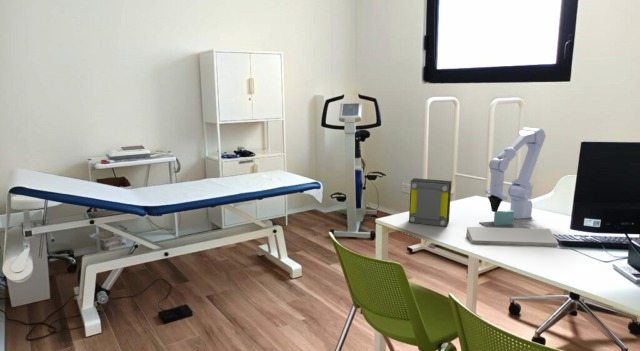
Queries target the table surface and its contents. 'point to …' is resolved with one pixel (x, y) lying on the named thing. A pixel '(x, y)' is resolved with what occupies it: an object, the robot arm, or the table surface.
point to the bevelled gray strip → (511, 236)
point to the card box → (503, 217)
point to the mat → (514, 225)
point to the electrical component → (430, 201)
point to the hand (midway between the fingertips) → (494, 211)
